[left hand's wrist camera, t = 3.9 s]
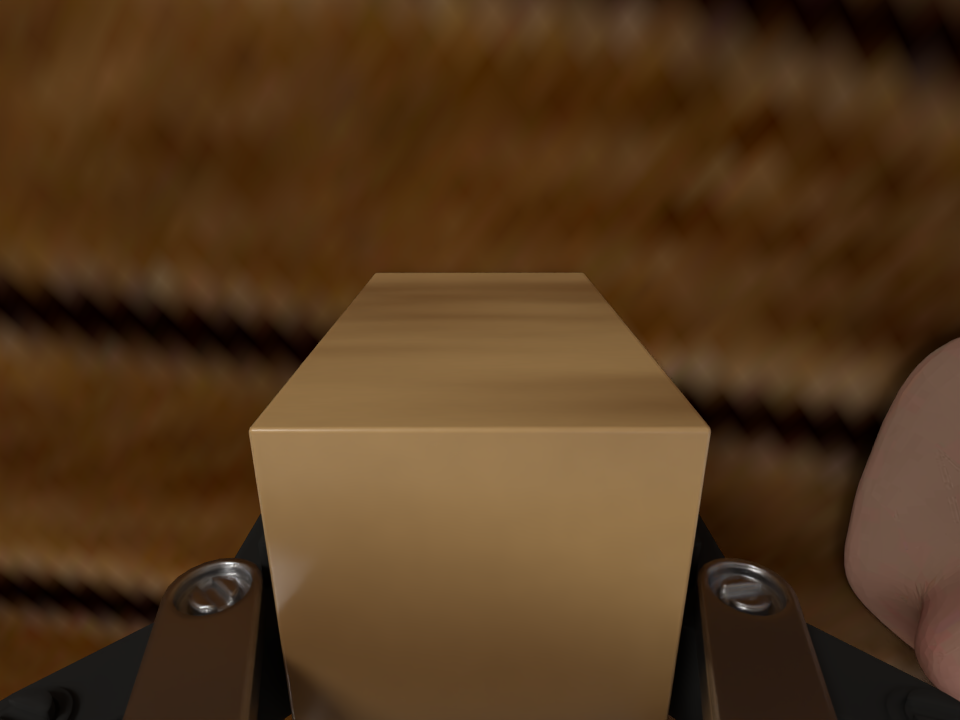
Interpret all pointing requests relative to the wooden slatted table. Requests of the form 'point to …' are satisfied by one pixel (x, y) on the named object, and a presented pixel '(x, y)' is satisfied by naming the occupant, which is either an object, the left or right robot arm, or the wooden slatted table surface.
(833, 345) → the wooden slatted table surface
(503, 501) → the bar
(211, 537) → the wooden slatted table surface
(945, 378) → the anatomical model
